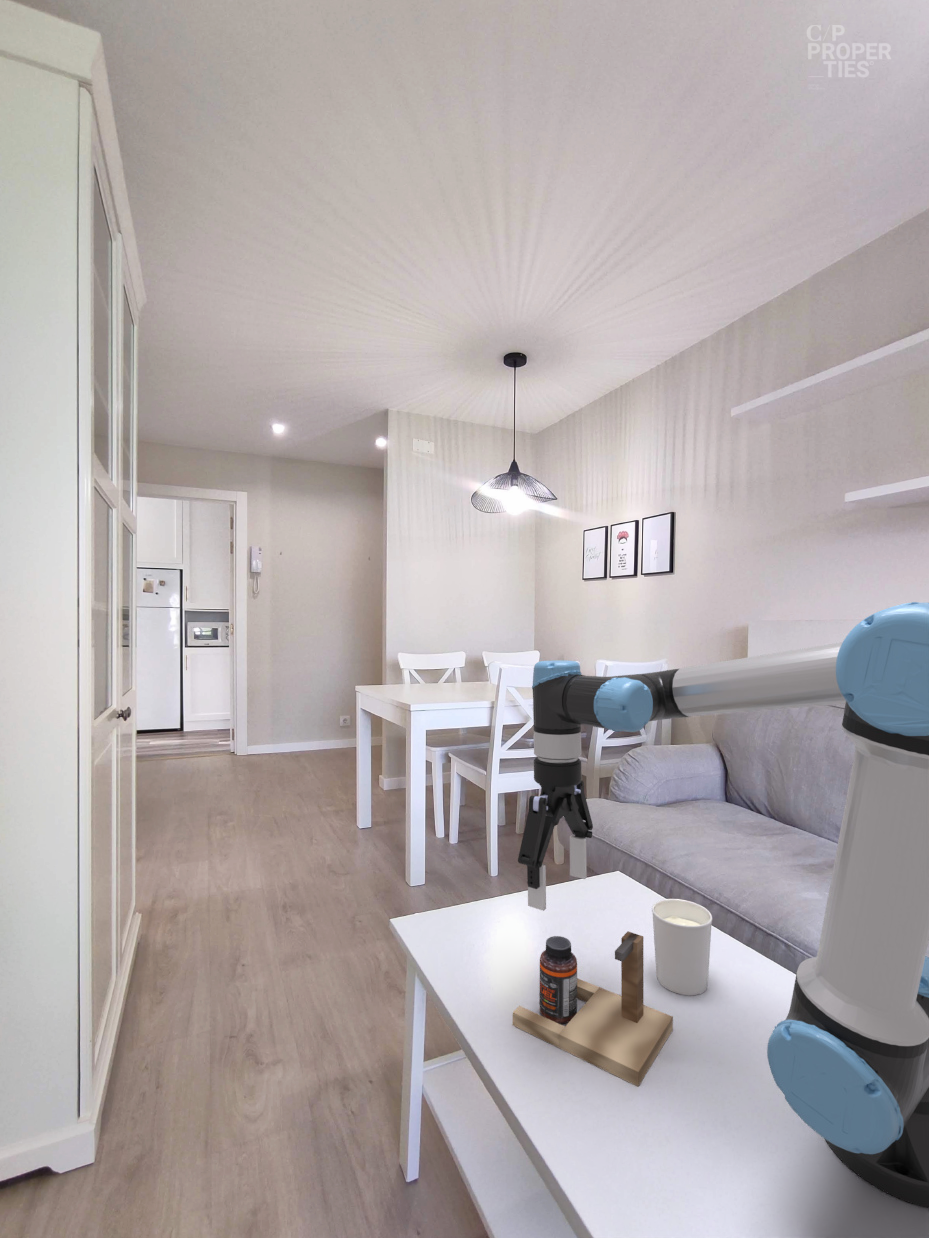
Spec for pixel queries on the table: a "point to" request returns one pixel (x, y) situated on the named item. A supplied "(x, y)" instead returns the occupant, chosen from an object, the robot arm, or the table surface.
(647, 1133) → the table surface
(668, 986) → the candle holder
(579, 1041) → the oak forked base
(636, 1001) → the hook post
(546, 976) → the supplement bottle
